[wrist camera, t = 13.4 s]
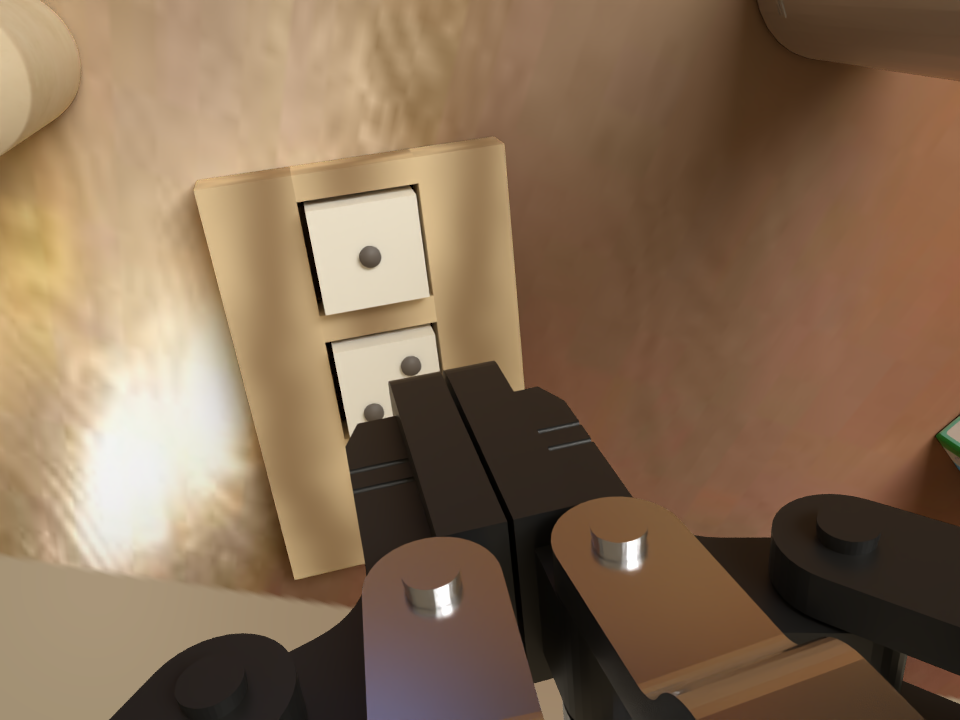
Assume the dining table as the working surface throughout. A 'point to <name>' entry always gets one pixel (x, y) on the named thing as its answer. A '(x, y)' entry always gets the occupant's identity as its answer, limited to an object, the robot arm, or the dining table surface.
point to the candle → (34, 69)
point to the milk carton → (951, 440)
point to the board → (352, 313)
